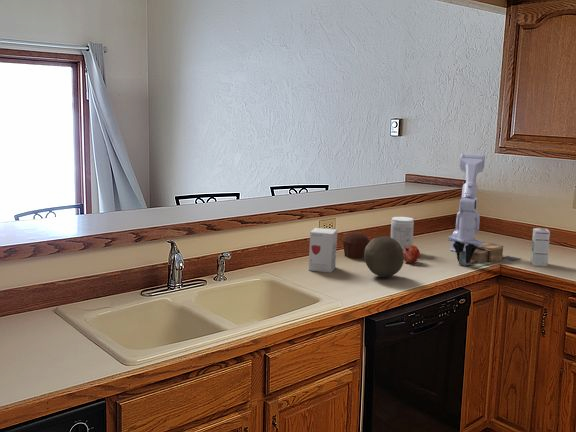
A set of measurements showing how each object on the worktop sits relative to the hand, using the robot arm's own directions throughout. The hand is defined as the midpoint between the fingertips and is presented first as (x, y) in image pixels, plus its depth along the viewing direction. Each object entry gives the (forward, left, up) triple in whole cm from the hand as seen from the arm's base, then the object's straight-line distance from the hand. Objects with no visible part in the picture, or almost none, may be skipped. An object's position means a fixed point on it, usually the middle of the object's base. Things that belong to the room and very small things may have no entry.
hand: (463, 261), depth 246 cm
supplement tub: (-30, -1, -2) cm, 30 cm away
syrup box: (+18, +27, -2) cm, 32 cm away
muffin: (-37, -23, -2) cm, 44 cm away
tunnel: (0, +18, -2) cm, 18 cm away
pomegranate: (-16, -13, -2) cm, 21 cm away
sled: (0, +7, -1) cm, 7 cm away
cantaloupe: (-9, -40, -2) cm, 41 cm away
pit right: (+6, +27, -2) cm, 28 cm away
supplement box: (-31, -49, -2) cm, 58 cm away
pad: (0, +8, -2) cm, 8 cm away
